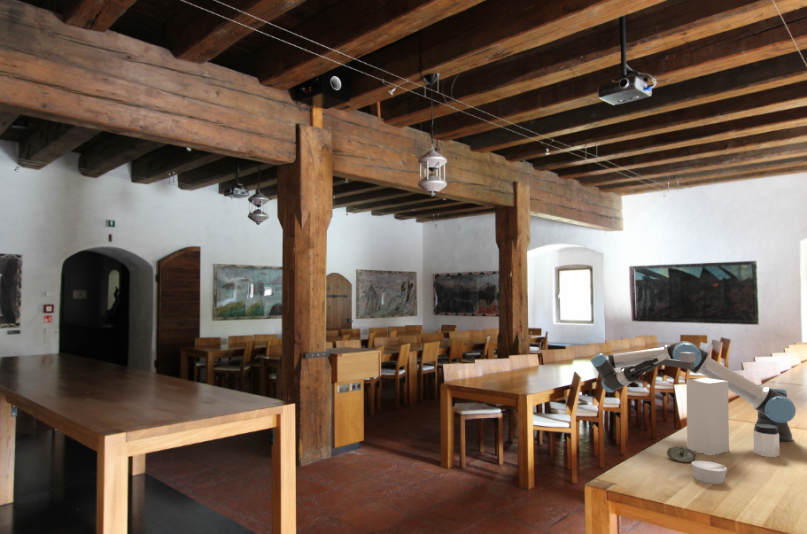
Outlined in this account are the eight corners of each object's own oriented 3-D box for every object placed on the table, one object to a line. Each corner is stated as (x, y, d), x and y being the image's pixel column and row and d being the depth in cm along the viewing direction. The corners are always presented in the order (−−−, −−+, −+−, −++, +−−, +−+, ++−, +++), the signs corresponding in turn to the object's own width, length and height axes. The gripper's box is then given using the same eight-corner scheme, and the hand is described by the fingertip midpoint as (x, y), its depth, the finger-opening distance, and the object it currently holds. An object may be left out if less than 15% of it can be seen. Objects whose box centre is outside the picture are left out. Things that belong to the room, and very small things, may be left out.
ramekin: (727, 488, 183) (726, 472, 184) (690, 481, 189) (690, 466, 189) (727, 478, 193) (727, 464, 193) (692, 472, 199) (692, 458, 199)
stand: (705, 445, 235) (705, 377, 236) (729, 451, 226) (728, 381, 228) (687, 449, 228) (686, 379, 229) (710, 456, 219) (709, 383, 221)
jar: (772, 458, 217) (772, 429, 217) (751, 453, 224) (750, 425, 224) (782, 455, 222) (781, 426, 222) (760, 450, 229) (760, 422, 229)
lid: (695, 457, 217) (694, 445, 217) (697, 465, 208) (697, 452, 208) (666, 454, 221) (666, 442, 221) (667, 461, 212) (667, 448, 212)
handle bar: (656, 363, 252) (656, 348, 253) (695, 368, 236) (695, 352, 236) (650, 363, 250) (649, 349, 250) (688, 369, 233) (688, 353, 234)
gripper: (642, 381, 265) (680, 362, 248) (621, 383, 257) (659, 364, 239) (635, 367, 268) (673, 348, 251) (614, 369, 260) (652, 349, 243)
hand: (666, 356), depth 245 cm, fingers closed on handle bar, 3 cm apart
